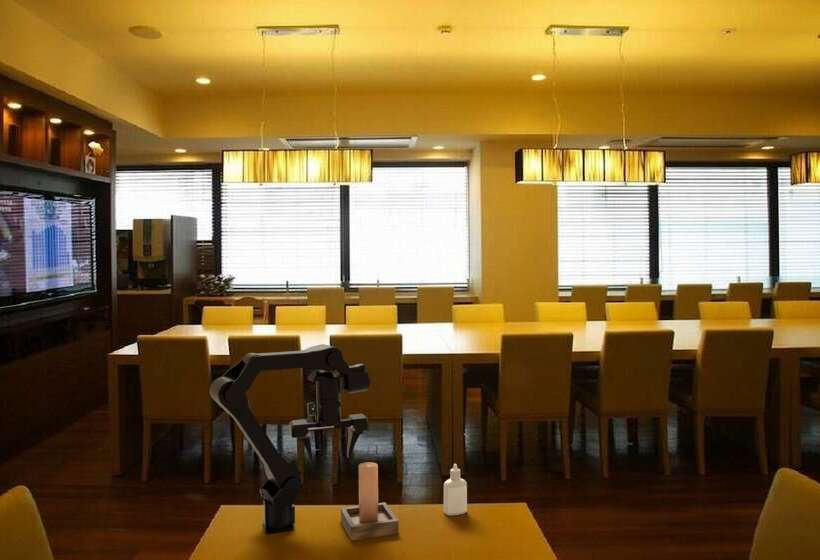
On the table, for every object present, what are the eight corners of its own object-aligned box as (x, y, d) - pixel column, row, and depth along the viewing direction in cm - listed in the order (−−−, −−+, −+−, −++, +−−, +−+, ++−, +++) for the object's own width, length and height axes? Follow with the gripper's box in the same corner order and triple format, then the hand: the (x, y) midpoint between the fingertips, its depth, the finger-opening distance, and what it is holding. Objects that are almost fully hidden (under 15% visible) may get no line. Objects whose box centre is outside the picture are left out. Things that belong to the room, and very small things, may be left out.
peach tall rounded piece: (361, 525, 145) (361, 469, 144) (357, 517, 149) (356, 463, 148) (380, 523, 146) (379, 467, 145) (375, 515, 150) (374, 461, 149)
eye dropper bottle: (466, 517, 153) (466, 467, 152) (443, 515, 153) (442, 466, 153) (467, 509, 157) (467, 461, 156) (444, 508, 158) (444, 460, 157)
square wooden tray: (351, 540, 140) (351, 527, 140) (340, 520, 151) (340, 508, 151) (398, 533, 144) (398, 520, 144) (385, 514, 154) (385, 502, 154)
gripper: (359, 386, 164) (360, 445, 165) (286, 392, 159) (288, 454, 160) (368, 396, 154) (370, 459, 155) (290, 403, 148) (292, 468, 149)
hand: (330, 459), depth 155 cm, fingers open, 9 cm apart
